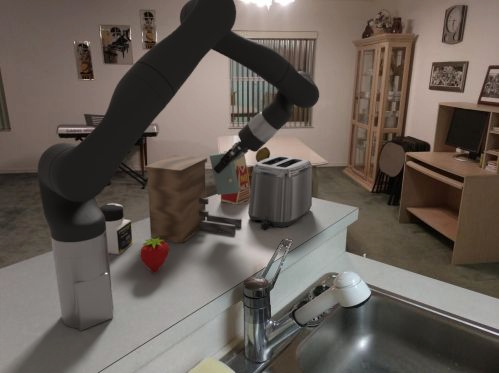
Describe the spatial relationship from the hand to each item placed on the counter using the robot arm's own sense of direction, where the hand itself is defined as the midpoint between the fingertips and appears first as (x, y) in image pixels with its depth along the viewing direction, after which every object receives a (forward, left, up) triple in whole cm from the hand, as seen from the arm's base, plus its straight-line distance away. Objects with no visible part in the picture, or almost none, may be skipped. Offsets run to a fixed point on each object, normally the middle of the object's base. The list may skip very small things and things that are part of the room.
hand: (218, 169), depth 112 cm
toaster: (-5, -22, -19) cm, 30 cm away
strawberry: (-13, +29, -19) cm, 36 cm away
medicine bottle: (+6, +31, -19) cm, 36 cm away
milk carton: (+17, -21, -19) cm, 33 cm away
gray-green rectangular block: (-3, -2, -7) cm, 8 cm away
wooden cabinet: (+1, +7, -18) cm, 20 cm away
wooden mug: (+18, -34, -19) cm, 43 cm away
